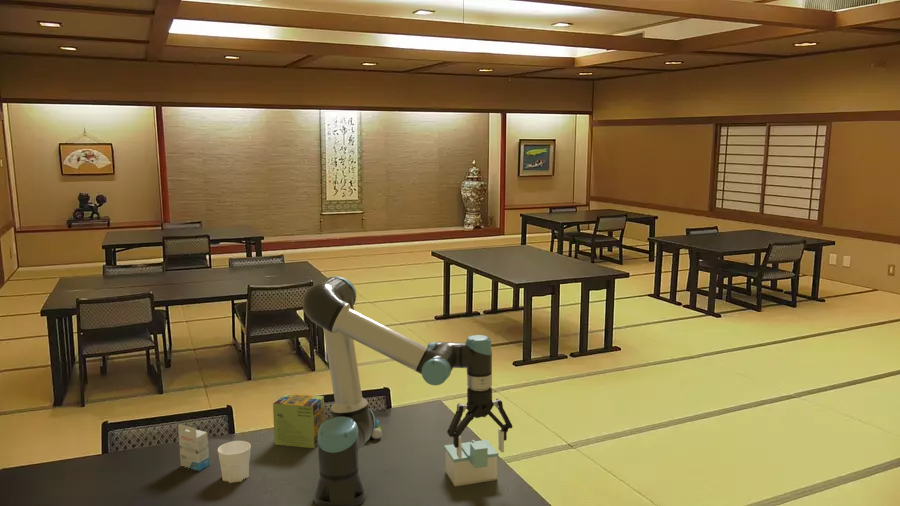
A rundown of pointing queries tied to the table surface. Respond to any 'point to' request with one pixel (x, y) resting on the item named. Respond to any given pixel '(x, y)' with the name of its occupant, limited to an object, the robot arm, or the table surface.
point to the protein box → (298, 420)
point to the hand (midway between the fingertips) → (480, 453)
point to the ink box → (193, 448)
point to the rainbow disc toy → (376, 431)
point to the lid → (473, 452)
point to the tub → (470, 471)
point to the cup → (234, 460)
